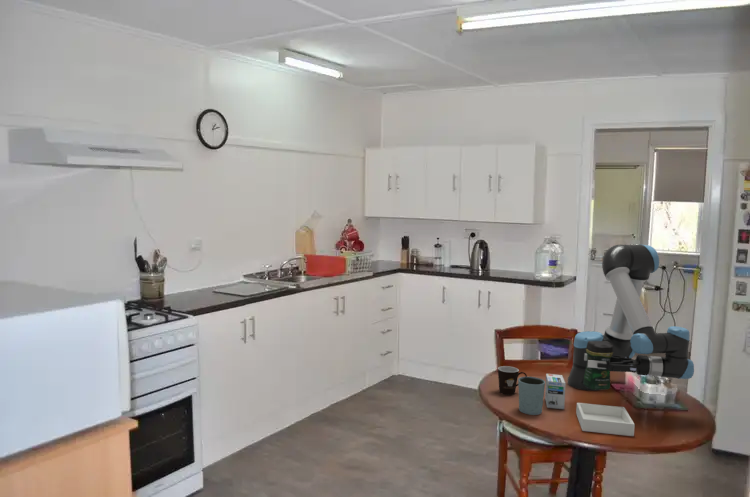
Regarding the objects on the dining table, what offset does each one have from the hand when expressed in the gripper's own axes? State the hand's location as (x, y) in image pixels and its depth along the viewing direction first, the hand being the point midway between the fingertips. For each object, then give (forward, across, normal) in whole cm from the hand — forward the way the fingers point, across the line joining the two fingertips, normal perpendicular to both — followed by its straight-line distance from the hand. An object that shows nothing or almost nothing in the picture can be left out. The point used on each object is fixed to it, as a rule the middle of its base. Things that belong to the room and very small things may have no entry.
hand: (586, 360), depth 228 cm
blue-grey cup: (+21, -11, -19) cm, 30 cm away
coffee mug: (+28, +8, -19) cm, 35 cm away
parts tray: (-5, -18, -18) cm, 26 cm away
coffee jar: (-5, 0, -11) cm, 12 cm away
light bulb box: (+11, -1, -19) cm, 22 cm away
